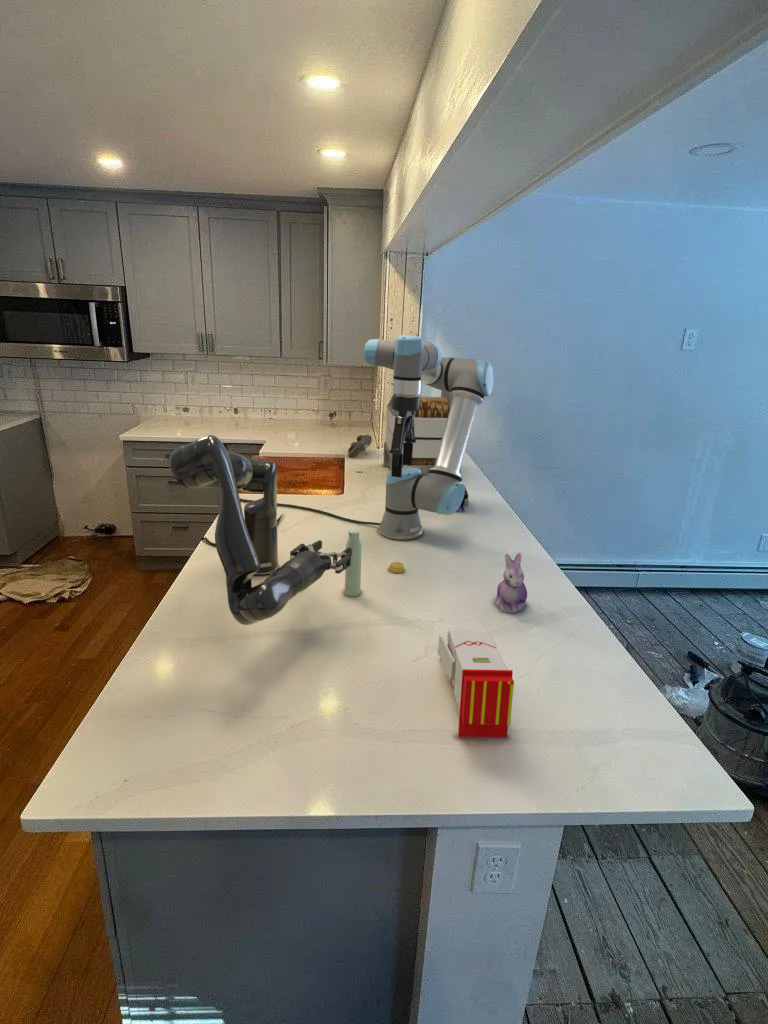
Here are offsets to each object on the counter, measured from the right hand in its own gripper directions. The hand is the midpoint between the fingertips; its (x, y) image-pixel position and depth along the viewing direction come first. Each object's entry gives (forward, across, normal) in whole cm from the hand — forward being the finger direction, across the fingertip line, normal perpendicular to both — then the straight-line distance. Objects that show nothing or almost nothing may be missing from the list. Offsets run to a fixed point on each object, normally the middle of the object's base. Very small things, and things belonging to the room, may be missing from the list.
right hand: (401, 470), depth 161 cm
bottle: (+31, +18, -8) cm, 37 cm away
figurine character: (+31, -66, +10) cm, 74 cm away
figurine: (+31, +11, +35) cm, 48 cm away
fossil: (+31, -134, -52) cm, 147 cm away
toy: (+31, +52, +28) cm, 67 cm away
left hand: (+14, +28, -10) cm, 33 cm away
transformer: (+31, -109, -14) cm, 114 cm away
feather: (+31, -29, -51) cm, 66 cm away
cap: (+30, 0, 0) cm, 30 cm away
